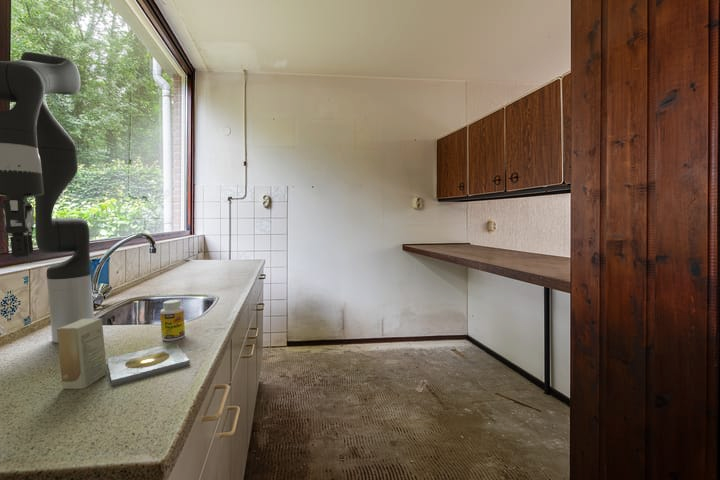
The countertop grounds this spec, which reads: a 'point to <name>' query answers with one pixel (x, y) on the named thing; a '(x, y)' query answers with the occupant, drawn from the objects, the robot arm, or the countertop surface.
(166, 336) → the supplement bottle
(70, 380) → the skincare box
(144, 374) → the grey square plate
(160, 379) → the countertop surface
